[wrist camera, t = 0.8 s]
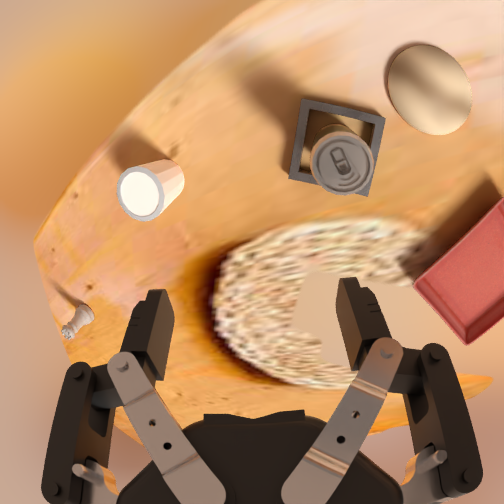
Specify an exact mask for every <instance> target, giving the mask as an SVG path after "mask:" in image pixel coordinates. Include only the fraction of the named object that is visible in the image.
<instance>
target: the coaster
mask: <svg viewBox="0 0 504 504" xmlns="http://www.w3.org/2000/svg"><path fill="white" fill-rule="evenodd" d="M388 89H389V94H390V98H391V100H392V103H393V105H394V107H395V109H396V110H397V112H398V113H399V115H400V116H401V117H402V118H403V119H404V120H405V121H406V122H407V123H408V124H409V125H411V126H412V127H414V128H415V129H417V130H419V131H422V132H424V133H428V134H432V135H444V134H448V133H451V132H453V131H455V130H456V129H458V128H459V127H460V126H461V125H462V124H463V123H464V122H465V121H466V119H467V117H468V115H469V113H470V109H471V105H472V91H471V86H470V82H469V80H468V77H467V75H466V73H465V71H464V70H463V68H462V67H461V65H460V64H459V63H458V62H457V61H456V60H455V59H454V58H453V57H452V56H451V55H449V54H448V53H446V52H445V51H443V50H441V49H439V48H436V47H433V46H428V45H418V46H413V47H410V48H408V49H406V50H404V51H403V52H401V53H400V54H399V55H398V56H397V57H396V58H395V60H394V61H393V63H392V65H391V67H390V70H389V74H388Z"/></svg>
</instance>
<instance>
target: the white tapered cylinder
mask: <svg viewBox="0 0 504 504" xmlns="http://www.w3.org/2000/svg"><path fill="white" fill-rule="evenodd" d="M184 181H185V180H184V175H183V172H182V170H181V169H180V167H179V166H178V165H177V164H176V163H174V162H173V161H171V160H167V159H163V160H159V161H154V162H150V163H146V164H142V165H139V166H135V167H131V168H128V169H127V170H126V171H124V172H123V173H122V174H121V176H120V178H119V180H118V183H117V196H118V200H119V203H120V205H121V206H122V208H123V209H124V211H125V212H126V213H127V214H128V215H129V216H131V217H132V218H133V219H136V220H139V221H151V220H153V219H154V218H156V217H157V216H159V215H160V214H161V213H162V212H163V210H164V209H165V208H166V207H167V206H168V205H169V204H170V203H171V202H172V201H173V200H174V199H175V198H176V197H177V196H178V195H179V194H180V193H181V191H182V189H183V188H184Z"/></svg>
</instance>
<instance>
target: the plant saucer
mask: <svg viewBox="0 0 504 504" xmlns="http://www.w3.org/2000/svg"><path fill="white" fill-rule="evenodd" d="M413 288H414V289H415V290H416V291H417V292H418V293H419V294H420V296H421V297H422V298H423V299H424V300H425V301H426V302H427V303H428V304H429V305H430V306H431V307H432V308H433V310H434V311H435V312H436V313H437V314H438V315H439V316H440V317H441V318H442V320H444V322H445V323H446V324H447V325H448V326H449V327H450V328H451V330H452V331H453V332H454V333H455V334H456V336H457V337H458V338H459V339H460V340H461V341H462V343H463V344H464V345H470V344H471V343H473V342H474V341H475V340H477V339H478V338H479V337H481V336H482V335H483V334H485V333H486V332H487V331H488V330H490V329H491V328H492V327H493V326H494V325H496V324H497V323H498V322H499V321H500V320H502V319H503V318H504V197H502V198H501V199H500V200H498V201H497V202H496V203H495V204H494V205H493V206H492V207H491V208H490V209H489V210H488V211H487V212H486V213H485V214H484V215H483V217H482V218H481V219H480V220H479V221H478V222H477V223H476V224H475V225H474V226H473V227H472V228H471V229H470V230H469V231H468V232H466V233H465V234H464V235H463V236H462V237H461V238H460V239H459V240H458V241H457V242H456V243H455V244H454V245H453V246H452V247H451V248H450V249H448V250H447V251H446V252H445V253H444V254H443V255H442V256H441V257H440V258H439V259H437V260H436V261H435V262H434V263H433V264H432V265H431V266H430V267H428V268H427V269H426V270H425V271H424V272H423V273H422V274H421V275H419V276H418V278H417V279H416V280H415V281H414V283H413Z"/></svg>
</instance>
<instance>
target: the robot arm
mask: <svg viewBox="0 0 504 504" xmlns="http://www.w3.org/2000/svg"><path fill="white" fill-rule="evenodd" d="M336 313H337V317H338V321H339V325H340V328H341V332H342V336H343V340H344V343H345V347H346V351H347V355H348V359H349V363H350V367H351V371H357V370H359V372H358V374H357V376H356V378H355V379H354V380H353V381H352V383H351V384H350V386H349V388H348V390H347V391H346V393H345V395H344V396H343V398H342V400H341V402H340V403H339V405H338V407H337V408H336V410H335V411H334V413H333V415H332V416H331V418H330V419H329V421H328V423H326V422H325V421H323V420H321V419H318V418H315V417H311V416H305V411H304V410H294V411H283V412H277V413H274V414H270V415H267V416H264V417H260V418H256V419H250V418H245V417H240V416H235V415H231V414H204V419H203V420H201V421H198V422H195V423H193V424H191V425H189V426H187V427H186V428H184V429H182V428H181V426H180V425H179V424H178V422H177V421H176V419H175V418H174V417H173V415H172V414H171V412H170V411H169V409H168V408H167V406H166V405H165V403H164V402H163V400H162V399H161V397H160V395H159V394H158V392H157V391H156V389H155V388H154V387H155V382H156V380H160V381H164V375H165V369H166V364H167V358H168V353H169V347H170V342H171V337H172V332H173V327H174V312H173V309H172V306H171V303H170V300H169V297H168V294H167V291H166V290H165V289H153V290H149V291H148V294H147V297H146V300H145V301H139V303H138V304H137V305H136V306H135V307H134V309H133V311H132V314H131V319H130V321H129V324H128V327H127V330H126V333H125V336H124V339H123V343H122V346H121V349H120V352H119V353H117V354H115V355H114V356H113V357H112V358H111V359H110V360H109V362H108V364H105V365H101V366H96V367H92V368H91V367H90V366H89V365H88V364H87V363H85V362H77V363H74V364H73V365H71V366H70V367H69V369H68V370H67V372H66V375H65V379H64V382H63V385H62V389H61V393H60V396H59V400H58V404H57V408H56V412H55V416H54V420H53V424H52V429H51V433H50V438H49V443H48V448H47V453H46V458H45V464H44V470H43V477H42V484H41V490H42V494H43V496H44V498H45V499H46V500H47V501H48V502H49V503H50V504H440V503H442V502H446V501H449V500H451V499H454V498H457V497H459V496H462V495H464V494H467V493H469V492H472V491H473V490H475V489H476V488H477V487H478V486H479V484H480V482H481V481H482V477H483V469H482V464H481V459H480V455H479V451H478V446H477V442H476V438H475V434H474V431H473V427H472V423H471V420H470V416H469V412H468V409H467V406H466V402H465V399H464V396H463V393H462V390H461V387H460V384H459V381H458V378H457V375H456V372H455V370H454V367H453V364H452V362H451V359H450V356H449V354H448V352H447V350H446V349H445V348H444V347H443V346H441V345H439V344H436V343H430V344H427V345H425V346H424V347H423V349H422V350H416V349H408V348H404V347H402V346H401V345H400V343H399V342H398V341H396V340H395V339H392V337H391V334H390V331H389V329H388V326H387V324H386V321H385V319H384V316H383V314H382V312H381V309H380V306H379V305H378V302H377V299H376V297H375V294H374V293H373V292H372V291H371V290H370V289H369V288H368V287H363V288H361V287H360V285H359V282H358V280H357V278H356V277H350V278H340V280H339V285H338V292H337V298H336ZM387 392H392V393H401V394H403V398H404V403H405V407H406V412H407V416H408V421H409V426H410V430H411V436H412V441H413V446H414V452H415V456H414V457H413V458H411V459H410V460H409V462H408V463H407V466H406V474H405V479H404V481H403V483H402V484H401V485H399V484H398V483H397V482H396V481H395V480H394V479H393V478H392V477H391V476H390V475H388V474H387V473H386V472H385V471H383V470H382V469H381V468H380V467H379V466H377V465H376V464H375V463H374V462H373V461H371V460H370V459H369V458H368V457H367V456H365V455H364V454H363V453H362V452H361V451H359V449H360V447H361V445H362V443H363V442H364V440H365V438H366V436H367V434H368V432H369V431H370V429H371V427H372V425H373V423H374V421H375V419H376V417H377V415H378V413H379V411H380V409H381V407H382V405H383V403H384V400H385V398H386V396H387ZM119 406H123V408H124V410H125V412H126V414H127V416H128V418H129V420H130V422H131V424H132V425H133V427H134V429H135V431H136V432H137V434H138V436H139V438H140V439H141V441H142V443H143V445H144V446H145V448H146V450H147V451H148V453H149V454H150V456H151V458H152V459H153V460H152V461H151V462H150V463H149V464H148V465H147V466H146V467H145V468H144V469H143V470H142V471H141V472H140V473H139V474H138V475H137V476H136V477H135V478H134V479H133V480H132V481H131V482H130V483H129V484H127V486H125V487H124V488H123V489H122V490H121V492H120V493H119V492H118V490H117V488H116V480H115V477H114V475H113V473H112V472H111V471H110V470H108V459H109V452H110V444H111V436H112V429H113V423H114V416H115V410H116V407H119Z"/></svg>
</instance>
